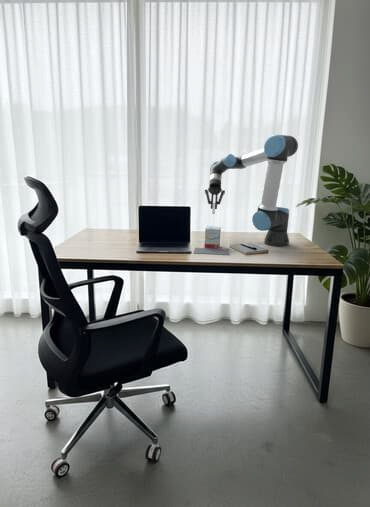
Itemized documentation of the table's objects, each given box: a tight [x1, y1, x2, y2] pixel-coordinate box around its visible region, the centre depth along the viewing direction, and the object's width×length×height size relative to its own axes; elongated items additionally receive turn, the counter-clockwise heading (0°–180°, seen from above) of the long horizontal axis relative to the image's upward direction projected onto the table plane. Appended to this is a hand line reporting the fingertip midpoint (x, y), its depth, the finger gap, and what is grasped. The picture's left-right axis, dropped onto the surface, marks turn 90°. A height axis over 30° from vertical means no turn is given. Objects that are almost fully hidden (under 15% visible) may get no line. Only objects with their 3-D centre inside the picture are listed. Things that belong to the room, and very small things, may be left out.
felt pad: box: [193, 247, 231, 256], centre depth 210 cm, size 20×12×1 cm, turn 84°
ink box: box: [203, 226, 222, 249], centre depth 219 cm, size 9×9×12 cm
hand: (213, 212), depth 224 cm, fingers closed
